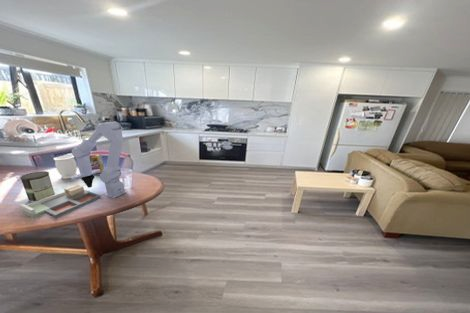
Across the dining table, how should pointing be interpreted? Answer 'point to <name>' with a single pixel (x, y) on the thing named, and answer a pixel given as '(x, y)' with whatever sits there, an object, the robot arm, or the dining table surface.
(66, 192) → the maple block
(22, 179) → the coffee can
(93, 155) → the candy box
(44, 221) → the dining table surface
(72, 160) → the jar
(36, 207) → the board
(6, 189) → the dining table surface
